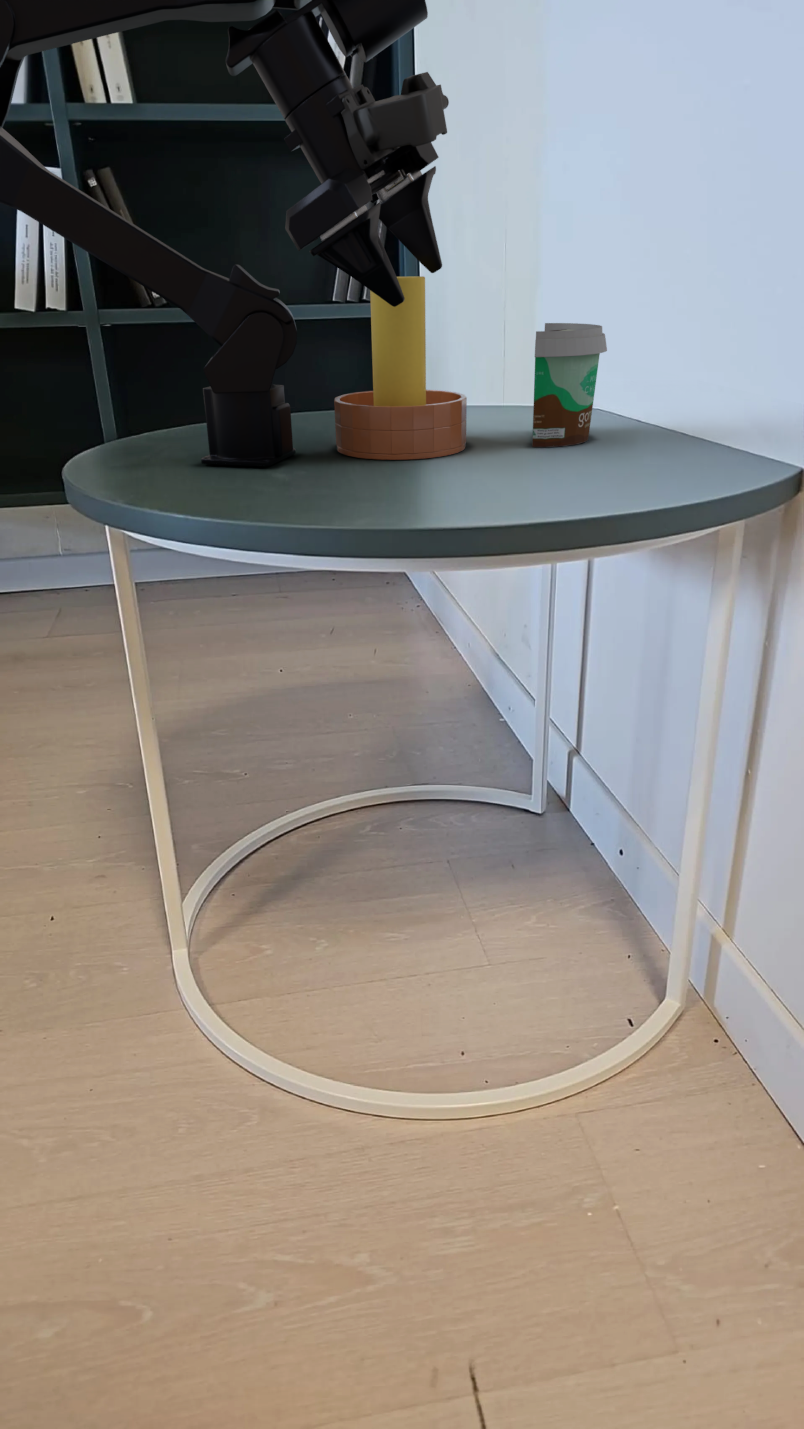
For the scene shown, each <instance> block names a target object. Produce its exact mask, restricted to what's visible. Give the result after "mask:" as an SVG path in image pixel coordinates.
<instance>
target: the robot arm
mask: <svg viewBox="0 0 804 1429" xmlns="http://www.w3.org/2000/svg"><path fill="white" fill-rule="evenodd" d="M272 9H274V10H273V11H272V12H271V10H272ZM279 10H289V11H294V12H292V13H290V14H289V15H287V16H285V17H284V16H283V14H282V13H281V12H280V11H279ZM269 12H270V13H269ZM268 13H269V14H268ZM267 14H268V15H267ZM428 14H429V13H428V6H427V1H426V0H0V204H1V205H4V206H7V207H9V208H11V209H14V210H16V211H19V212H21V213H23V214H25V215H26V216H28V217H29V218H31V219H33V220H34V221H36V222H37V223H39V224H41V225H42V226H44V227H46V228H47V229H49V230H51V231H53V233H54V232H55V233H56V234H57V235H58V236H61V237H62V238H64V239H65V240H67V241H69V242H70V243H72V244H74V245H75V246H77V247H78V248H80V249H82V250H83V251H85V252H87V253H88V254H89V255H92V256H93V257H94V258H96V259H98V260H100V261H101V262H103V263H104V264H106V265H108V266H110V267H111V268H112V269H114V270H116V271H118V272H119V273H121V274H123V275H124V276H125V277H128V278H129V279H130V280H132V281H134V282H136V283H137V284H139V285H140V286H142V287H144V288H146V289H147V290H149V291H151V292H152V293H153V294H155V295H157V296H158V297H159V298H162V299H163V300H165V301H166V302H168V303H170V304H171V305H173V306H174V307H176V308H178V309H180V310H181V311H182V312H183V313H185V314H186V315H187V316H188V317H189V318H190V319H191V320H192V321H193V322H194V323H195V324H196V325H197V326H198V327H199V328H200V329H202V330H203V331H204V333H206V335H208V336H209V337H210V338H211V339H212V340H213V341H214V342H216V343H217V344H218V345H219V346H220V347H219V348H218V349H217V350H216V352H215V353H213V355H212V356H211V357H210V359H209V360H208V362H207V363H206V365H205V366H204V367H203V374H204V375H205V378H206V380H207V382H208V384H209V386H207V387H203V388H202V394H203V404H204V412H205V413H204V415H205V424H206V432H207V433H206V434H207V442H208V443H207V444H208V451H209V452H208V453H209V454H208V455H205V456H202V457H201V458H200V462H201V464H203V465H220V466H221V465H222V466H224V465H225V466H246V467H270V466H273V465H275V464H276V463H280V462H281V461H283V460H285V459H287V458H290V457H292V456H294V455H296V454H297V451H296V448H295V447H294V442H293V428H292V412H291V411H292V410H291V405H290V404H289V403H288V402H286V400H285V385H284V384H273V381H274V377H275V373H276V370H277V369H279V368H281V367H282V366H284V365H285V364H287V363H288V361H289V360H290V359H291V357H292V356H293V354H294V352H295V349H296V347H297V344H298V343H297V342H298V330H297V325H296V322H295V318H294V315H293V313H292V311H291V310H290V308H289V307H288V306H287V305H286V304H285V303H284V302H283V301H282V300H281V299H279V298H278V297H279V296H280V293H281V292H280V289H279V288H274V287H269V286H267V285H264V284H262V283H261V282H259V281H258V280H257V279H255V277H253V275H251V274H250V273H249V272H248V271H247V270H246V269H244V267H243V266H241V265H240V264H234V265H233V266H232V268H231V272H230V275H229V277H226V276H223V275H221V274H219V273H217V272H213V271H211V270H208V269H206V268H204V267H202V266H201V265H199V264H197V263H196V262H195V261H193V260H191V259H189V258H188V257H187V256H185V255H184V254H181V253H180V252H178V251H177V250H175V249H174V248H172V247H171V246H169V245H168V244H166V243H164V242H162V240H159V239H158V238H157V237H154V236H153V235H152V234H150V233H148V232H147V231H145V230H144V229H143V228H140V227H139V226H137V225H136V224H134V223H133V222H131V221H129V220H128V219H126V218H124V216H122V215H120V214H118V213H117V212H115V211H113V210H112V209H110V208H109V207H107V206H106V205H105V204H102V203H101V202H99V201H97V200H96V199H95V198H93V197H91V196H90V195H89V194H87V193H86V192H84V191H82V190H80V189H79V188H77V187H75V186H74V185H73V184H71V183H69V182H68V181H66V180H65V179H63V178H61V177H60V176H58V175H56V174H55V173H53V172H52V171H50V170H49V169H48V168H46V166H44V165H43V164H42V163H41V162H40V161H39V160H38V159H37V158H36V157H35V156H34V155H32V153H30V152H29V150H28V149H27V148H25V146H23V145H22V144H21V143H20V142H19V141H18V140H17V139H15V137H14V136H12V135H11V134H10V133H9V132H8V131H7V130H6V129H4V125H5V123H6V121H7V118H8V116H9V113H10V110H11V106H12V101H13V97H14V93H15V90H16V89H15V88H16V84H17V81H18V77H19V73H20V69H21V67H22V65H23V62H24V60H25V58H26V57H27V56H29V55H33V54H37V53H41V52H45V51H50V50H52V49H57V48H61V47H65V46H70V45H74V44H77V43H82V42H87V41H89V40H94V39H97V38H101V37H106V36H109V35H113V34H117V33H121V32H125V31H129V30H133V29H138V28H141V27H145V26H149V25H153V24H157V23H162V22H164V21H165V22H166V21H180V20H181V21H196V22H204V23H205V22H207V23H224V22H228V23H229V22H250V21H256V20H258V19H260V18H261V20H260V21H258V22H257V23H255V24H253V25H252V27H250V28H249V29H247V30H246V29H245V30H244V29H240V28H237V27H235V26H232V25H231V26H228V29H227V35H228V50H227V54H226V57H225V64H226V68H227V71H228V74H229V75H230V76H232V77H236V76H238V75H239V74H240V73H243V71H244V70H246V69H248V67H250V66H252V65H253V67H254V68H255V69H256V72H257V73H258V76H259V77H260V79H261V81H262V82H263V84H264V86H265V88H266V89H267V91H268V93H269V94H270V97H271V98H272V100H273V102H274V104H275V105H276V108H278V110H279V112H280V114H281V115H282V117H283V120H285V123H286V125H287V127H288V128H289V130H290V133H288V134H287V135H286V136H285V137H284V138H283V140H284V142H285V144H286V145H287V147H288V150H289V151H290V152H293V151H295V150H297V149H299V148H300V149H301V151H302V153H303V155H304V157H305V158H306V160H307V161H308V164H309V165H310V168H312V170H313V172H314V174H315V175H316V177H317V179H318V181H319V183H320V184H319V185H318V186H316V187H315V188H314V189H313V190H312V191H310V192H309V193H308V194H306V195H305V196H304V197H302V198H301V199H300V200H298V201H297V202H296V203H294V204H293V205H292V206H291V207H289V208H288V209H287V210H286V215H285V224H284V229H285V231H286V233H287V234H288V236H289V237H290V239H291V241H292V242H293V244H294V246H295V248H296V250H297V251H298V252H300V251H301V250H304V249H305V248H306V247H308V246H310V245H311V244H313V243H314V242H315V241H317V240H318V239H320V241H321V242H320V243H319V244H317V245H316V246H315V247H313V248H312V249H310V250H309V253H310V255H311V256H312V257H316V256H318V257H320V258H321V259H323V260H324V261H326V262H327V263H329V264H331V265H332V266H334V267H335V268H337V269H338V270H340V271H341V272H343V273H345V274H346V275H348V276H350V277H351V278H352V279H353V280H355V281H357V282H358V283H359V284H361V285H362V286H363V287H365V288H366V289H368V290H369V291H370V290H371V291H372V292H373V293H375V294H376V295H378V296H379V297H380V298H382V299H383V300H385V301H386V302H387V303H389V304H390V305H391V306H393V307H396V306H398V305H399V304H401V303H402V302H404V300H405V298H404V295H403V292H402V289H401V287H400V284H399V281H398V279H397V277H398V276H397V274H396V272H395V270H394V268H393V265H392V262H391V260H390V258H389V256H388V254H387V252H386V249H385V246H384V245H383V242H382V240H381V238H380V235H379V232H378V231H379V230H378V229H379V221H380V222H381V223H382V224H383V225H384V226H385V228H386V229H388V230H389V231H390V232H391V233H392V234H393V236H395V238H396V239H397V240H398V241H399V242H400V243H401V244H402V246H404V247H405V248H406V249H407V251H409V253H411V255H412V256H413V257H414V258H415V259H416V260H417V261H418V262H419V263H420V264H421V265H422V266H423V267H424V268H425V269H426V270H427V271H428V272H429V273H431V274H435V273H436V272H438V271H440V270H441V269H442V268H443V262H442V258H441V253H440V248H439V245H438V240H437V236H436V231H435V227H434V222H433V218H432V213H431V208H430V203H429V193H430V191H431V190H430V189H431V185H432V182H433V178H434V176H435V175H436V172H437V166H436V165H434V166H433V167H431V168H429V169H428V170H427V171H425V172H424V173H422V170H424V169H426V168H427V167H428V166H429V165H431V164H432V163H434V162H435V161H436V160H438V159H439V158H440V157H439V154H438V152H437V151H436V149H435V146H434V145H433V142H435V141H437V137H438V136H439V135H443V136H444V135H447V134H448V127H447V122H446V116H445V110H446V109H447V108H448V106H449V104H450V101H449V98H448V96H447V95H446V94H444V92H443V89H442V84H436V83H435V81H434V79H433V78H432V76H431V74H430V73H429V71H425V72H421V73H417V74H413V75H410V76H408V77H406V78H404V79H403V81H402V85H401V90H400V94H396V95H393V96H391V97H387V98H384V99H380V100H375V97H374V96H373V94H372V92H371V91H370V89H369V88H368V87H367V86H364V84H360V85H357V86H355V87H354V86H353V85H352V83H351V80H350V79H349V77H348V76H347V73H346V71H345V70H344V68H343V66H342V64H341V63H340V60H339V58H338V57H337V54H336V53H335V51H334V49H333V47H332V46H331V43H330V41H329V39H328V38H327V36H326V34H325V32H324V30H323V29H322V27H321V25H320V23H319V21H318V19H317V17H318V16H320V15H321V16H322V18H323V20H324V22H325V25H326V27H327V28H328V30H329V33H330V35H331V37H332V39H333V40H334V42H335V44H336V45H337V47H338V49H339V51H340V52H341V53H342V55H343V56H344V58H348V57H349V56H350V57H351V58H353V57H355V56H356V55H357V56H358V57H359V58H360V59H361V61H362V62H364V63H367V62H369V61H370V60H371V59H373V58H374V57H375V56H377V55H378V54H379V53H381V52H382V51H384V50H385V49H386V48H388V47H389V46H391V45H392V44H393V43H395V42H396V41H397V40H399V39H400V38H402V37H403V36H405V35H407V33H409V32H410V31H411V30H413V29H414V28H415V27H417V26H418V25H420V24H421V23H422V22H424V21H426V20H427V19H428V16H429V15H428ZM262 17H264V18H262ZM378 201H379V202H378ZM376 202H378V203H376ZM369 203H371V204H374V203H376V204H375V205H373V206H372V207H370V208H368V207H367V204H369Z"/></svg>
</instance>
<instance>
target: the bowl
mask: <svg viewBox="0 0 804 1429" xmlns="http://www.w3.org/2000/svg"><path fill="white" fill-rule="evenodd" d="M467 398H468V397H467V396H466V394H464V393H460V392H456V391H449V390H441V389H427V388H426V405H413V406H374V398H373V390H365V391H356V392H350V393H345V394H342V395H339V396H336V397H334V400H333V404H334V423H335V424H334V425H335V427H334V428H335V446H336V451H337V452H338V453H340V454H341V455H343V456H347V457H353V458H357V459H365V460H380V461H381V460H382V461H406V460H407V461H409V460H410V461H411V460H422V459H423V460H424V459H425V460H426V459H433V458H442V457H446V456H447V457H448V456H452V455H455V454H458V453H460V452H462V451H464V450H465V449H466V447H467V446H466V443H467V415H468V414H467V405H468V404H467V403H468V402H467Z"/></svg>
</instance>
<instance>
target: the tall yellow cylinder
mask: <svg viewBox="0 0 804 1429" xmlns="http://www.w3.org/2000/svg"><path fill="white" fill-rule="evenodd" d="M396 277H397V279H398V281H399V284H400V287H401V289H402V292H403V295H404V298H405V300H404V302H402V303H401V304H399V305H398V306H396V307H393V306H391V305H390V304H389V303H387V302H386V301H385V300H383V299H382V298H380V297H379V296H378V295H376V294H375V293H373V292H372V291H371V290H369V292H370V293H369V296H370V297H369V298H370V325H371V326H370V328H371V332H370V333H371V359H372V360H371V361H372V363H371V364H372V391H373V398H374V406H413V405H426V389H427V361H426V360H427V356H426V355H427V350H426V349H427V348H426V347H427V346H426V345H427V344H426V343H427V342H426V341H427V339H426V338H427V335H426V330H427V329H426V277H425V276H424V275H423V276H422V275H420V276H419V275H418V276H417V275H416V276H414V275H413V276H396Z"/></svg>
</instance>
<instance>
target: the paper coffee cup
mask: <svg viewBox="0 0 804 1429" xmlns="http://www.w3.org/2000/svg"><path fill="white" fill-rule="evenodd" d="M534 342H535V343H534V381H533V382H534V383H533V411H532V412H533V413H532V441H531V442H532V445H531V447H532V448H552V447H553V448H554V447H567V446H575V445H579V444H583V443H586V442H588V441H589V437H590V430H591V422H592V415H593V408H594V407H593V406H594V399H595V393H596V392H595V391H596V385H597V378H598V369H599V363H600V362H599V361H600V354H602V353H603V354H604V353H606V352H607V351H608V346H607V339H606V333H604V332H603V326H602V325H600V324H593V323H578V322H575V323H573V322H544V330H543V331H542V330H541V331H540V330H537V331H535V341H534Z"/></svg>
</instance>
